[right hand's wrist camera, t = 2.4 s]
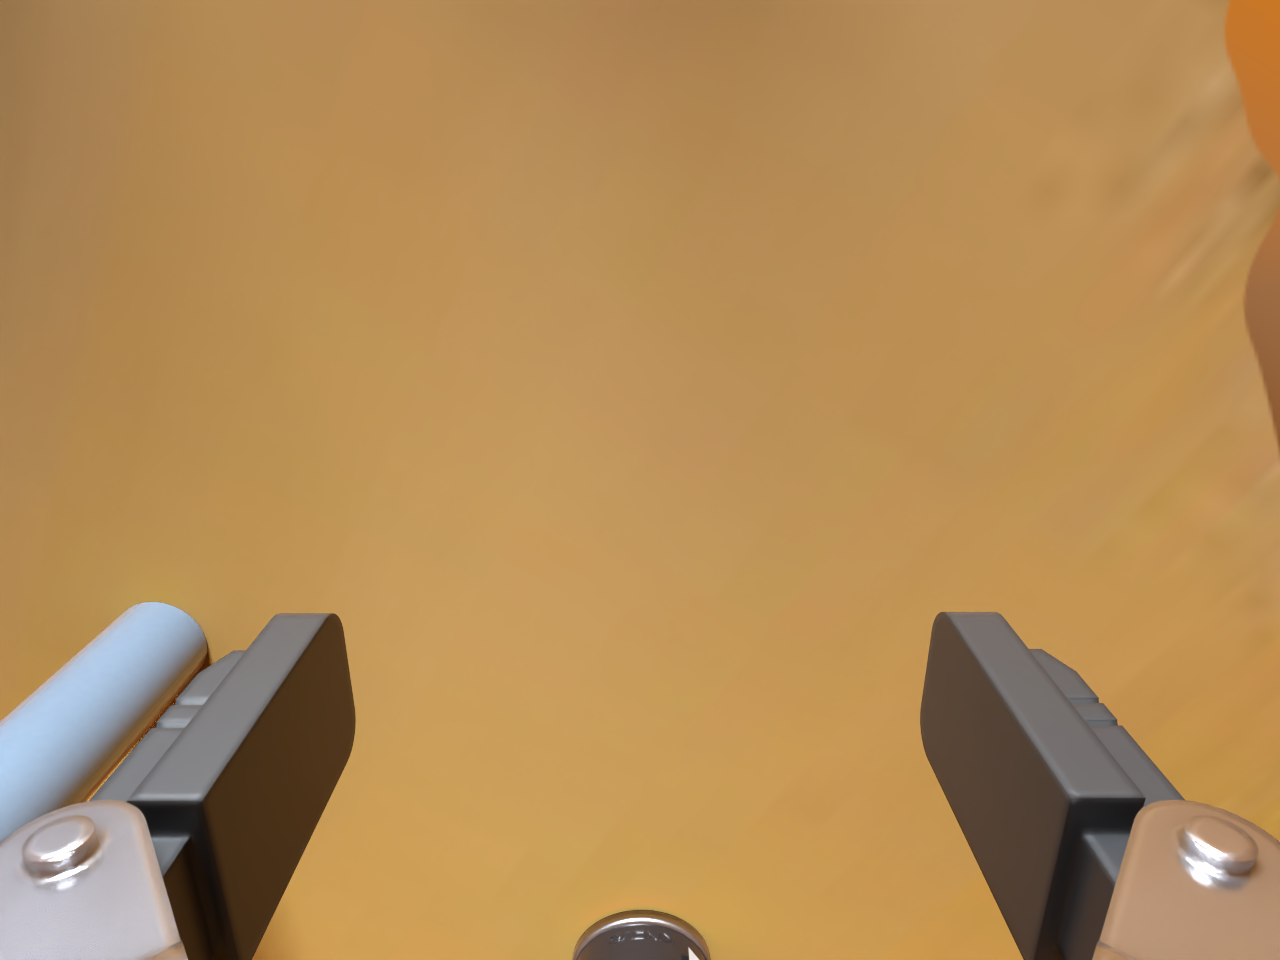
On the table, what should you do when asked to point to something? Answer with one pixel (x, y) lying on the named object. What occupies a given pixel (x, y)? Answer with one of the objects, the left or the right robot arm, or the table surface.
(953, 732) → the right robot arm
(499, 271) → the table surface
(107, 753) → the bottle
